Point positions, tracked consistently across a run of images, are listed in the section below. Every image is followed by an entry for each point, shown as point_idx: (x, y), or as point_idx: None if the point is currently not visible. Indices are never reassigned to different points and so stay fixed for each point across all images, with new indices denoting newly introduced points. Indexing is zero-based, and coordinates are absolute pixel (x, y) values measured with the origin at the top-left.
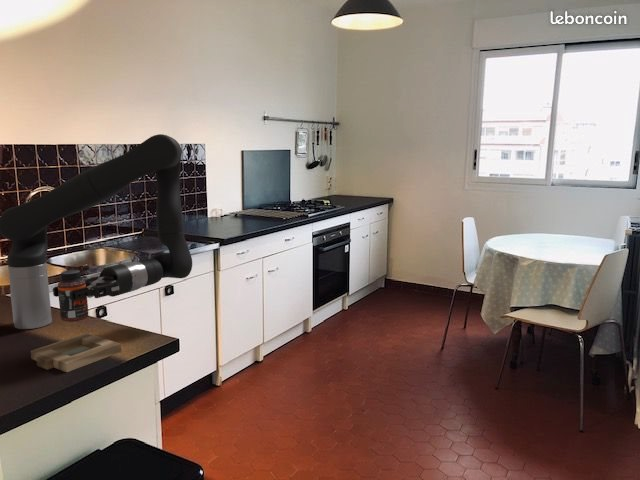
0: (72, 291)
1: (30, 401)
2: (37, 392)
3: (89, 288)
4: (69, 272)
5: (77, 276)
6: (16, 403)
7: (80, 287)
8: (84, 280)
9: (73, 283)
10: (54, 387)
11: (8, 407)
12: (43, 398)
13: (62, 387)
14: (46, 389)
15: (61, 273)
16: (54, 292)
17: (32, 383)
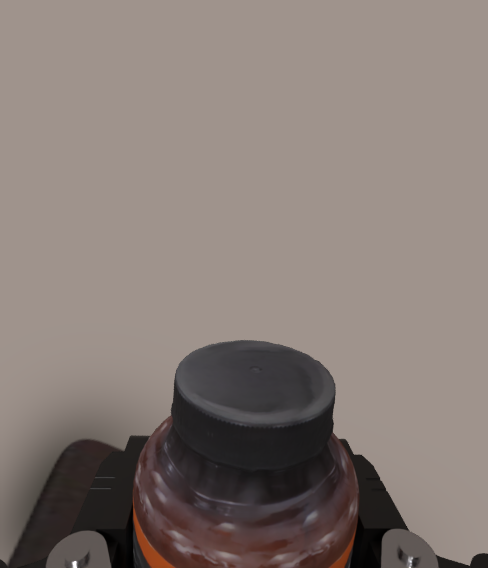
0: (131, 436)
1: (65, 470)
2: (84, 497)
3: (60, 551)
4: (229, 356)
5: (172, 411)
6: (90, 454)
7: (133, 489)
8: (198, 545)
9: (164, 422)
10: (57, 534)
11: (92, 442)
12: (43, 489)
13: (30, 546)
14: (72, 516)
15: (266, 342)
16: None
17: None
